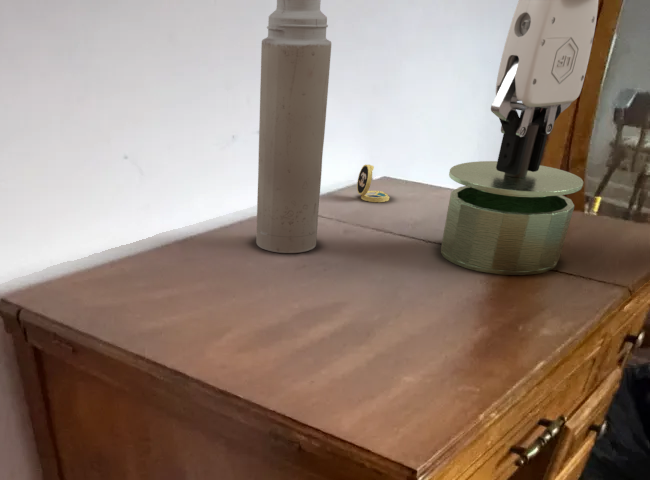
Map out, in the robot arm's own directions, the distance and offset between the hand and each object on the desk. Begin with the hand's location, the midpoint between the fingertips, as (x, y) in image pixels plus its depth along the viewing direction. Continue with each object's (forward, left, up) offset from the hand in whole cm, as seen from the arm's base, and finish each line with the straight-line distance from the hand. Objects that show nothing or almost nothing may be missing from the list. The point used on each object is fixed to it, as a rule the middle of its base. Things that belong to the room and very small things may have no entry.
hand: (517, 169), depth 87 cm
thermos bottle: (+21, -18, -10) cm, 29 cm away
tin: (0, 0, -10) cm, 10 cm away
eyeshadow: (-5, -30, -10) cm, 32 cm away
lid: (0, 0, -1) cm, 1 cm away
